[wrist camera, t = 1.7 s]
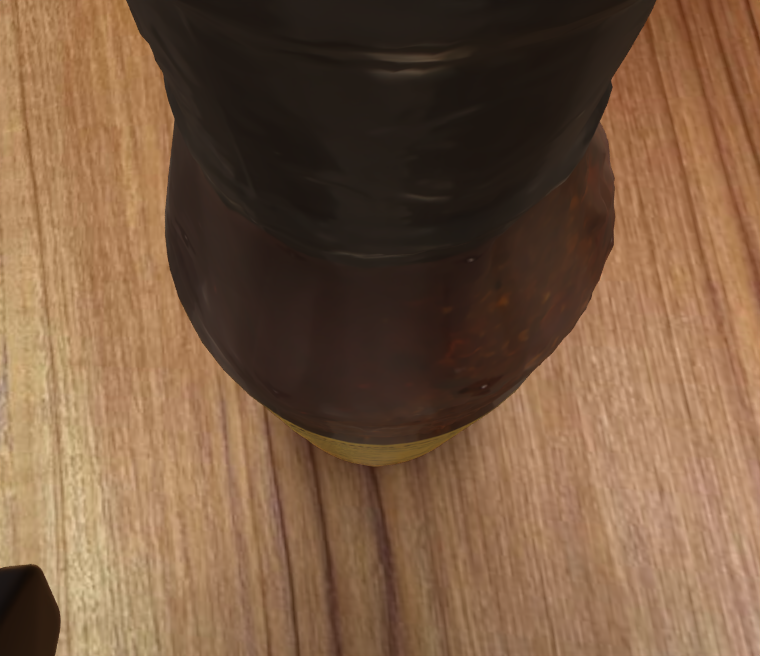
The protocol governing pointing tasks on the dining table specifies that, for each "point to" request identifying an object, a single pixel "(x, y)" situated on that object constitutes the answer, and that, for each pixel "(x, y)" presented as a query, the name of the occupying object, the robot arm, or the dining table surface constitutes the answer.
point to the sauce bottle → (387, 199)
